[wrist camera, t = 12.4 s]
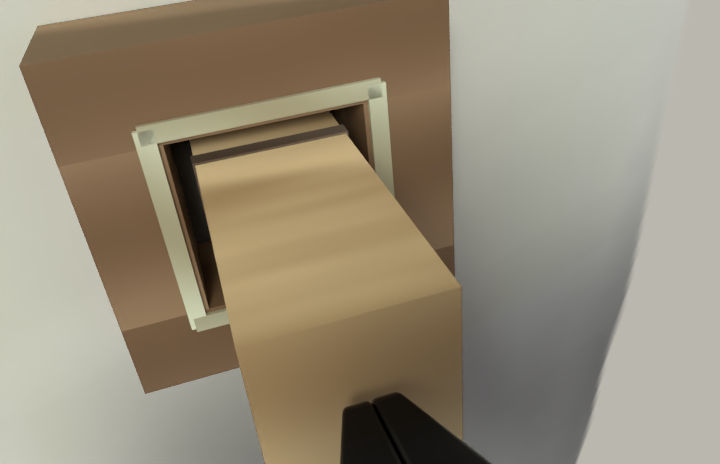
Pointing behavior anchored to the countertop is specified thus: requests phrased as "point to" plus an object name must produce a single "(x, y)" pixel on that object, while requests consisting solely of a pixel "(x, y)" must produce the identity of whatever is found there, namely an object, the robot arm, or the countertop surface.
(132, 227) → the board
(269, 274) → the peg
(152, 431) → the countertop surface
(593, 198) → the countertop surface
